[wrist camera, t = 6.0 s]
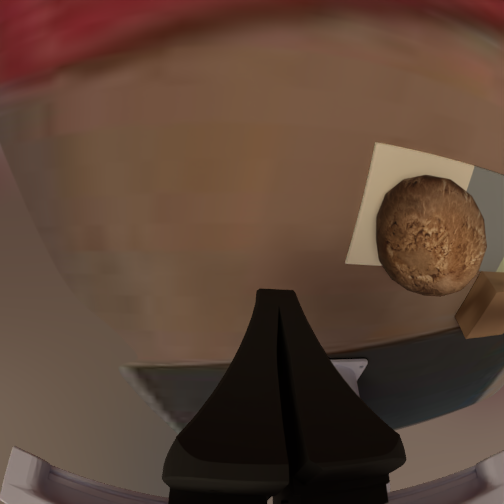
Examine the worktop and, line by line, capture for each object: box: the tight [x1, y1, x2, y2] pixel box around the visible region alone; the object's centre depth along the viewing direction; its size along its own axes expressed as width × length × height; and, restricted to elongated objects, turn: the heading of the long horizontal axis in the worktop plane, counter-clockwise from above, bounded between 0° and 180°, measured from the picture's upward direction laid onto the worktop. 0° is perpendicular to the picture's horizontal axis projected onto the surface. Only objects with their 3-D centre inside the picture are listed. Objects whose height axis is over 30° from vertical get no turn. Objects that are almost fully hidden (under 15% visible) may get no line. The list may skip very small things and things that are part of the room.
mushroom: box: [376, 175, 487, 296], centre depth 17 cm, size 8×8×6 cm
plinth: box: [455, 271, 504, 339], centre depth 23 cm, size 6×6×3 cm
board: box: [345, 142, 504, 272], centre depth 19 cm, size 9×24×1 cm, turn 86°
